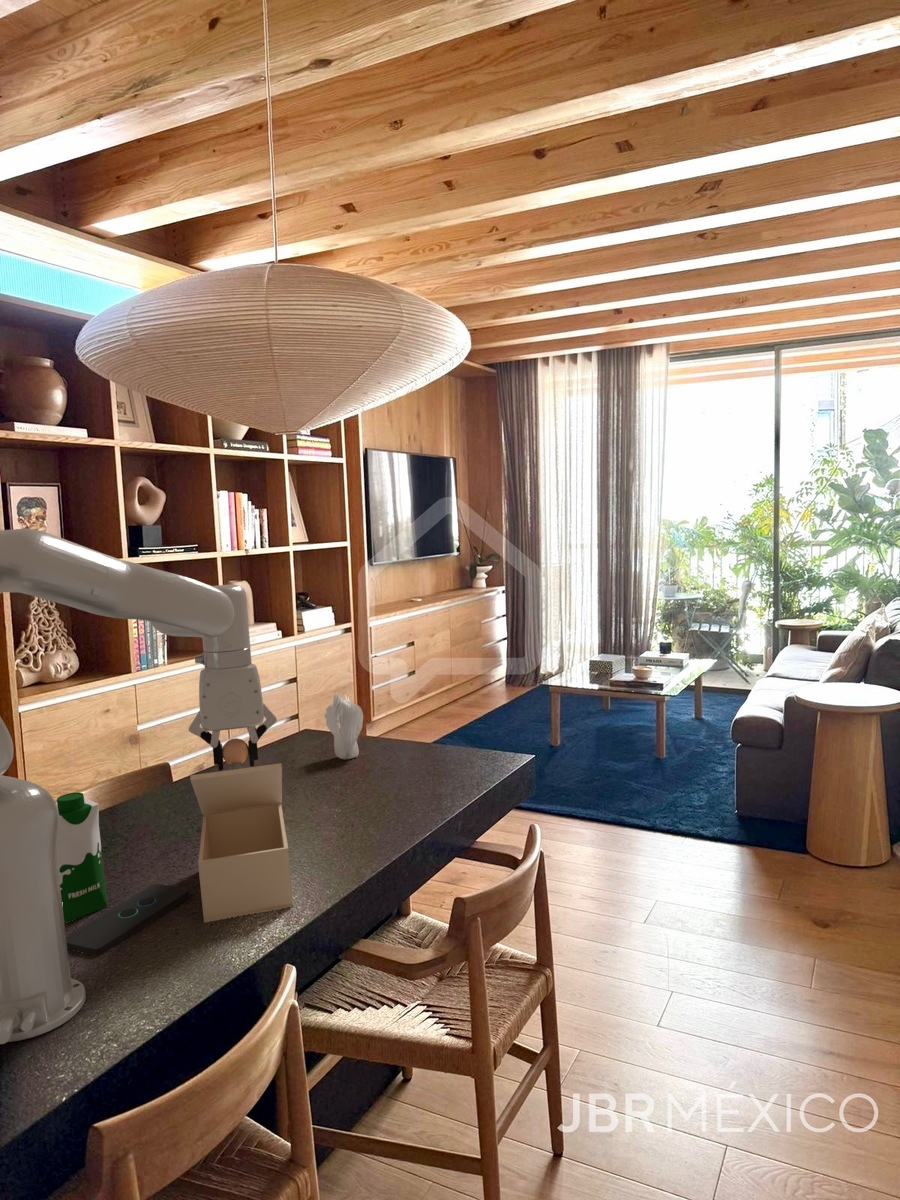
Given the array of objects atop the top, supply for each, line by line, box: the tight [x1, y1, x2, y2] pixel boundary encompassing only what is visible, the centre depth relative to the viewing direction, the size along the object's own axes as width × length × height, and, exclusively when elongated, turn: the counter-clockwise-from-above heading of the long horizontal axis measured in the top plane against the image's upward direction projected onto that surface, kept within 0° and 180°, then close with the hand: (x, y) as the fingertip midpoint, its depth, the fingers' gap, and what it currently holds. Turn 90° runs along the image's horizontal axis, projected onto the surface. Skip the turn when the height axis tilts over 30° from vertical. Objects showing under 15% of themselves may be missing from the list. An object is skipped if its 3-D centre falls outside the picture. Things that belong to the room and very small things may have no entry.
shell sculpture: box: [324, 692, 364, 760], centre depth 212 cm, size 8×8×18 cm
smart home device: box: [66, 883, 190, 957], centre depth 131 cm, size 8×2×20 cm
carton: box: [197, 803, 294, 923], centre depth 140 cm, size 22×14×10 cm, turn 15°
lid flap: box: [189, 738, 283, 815], centre depth 142 cm, size 22×14×7 cm
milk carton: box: [55, 792, 108, 923], centre depth 135 cm, size 9×9×20 cm
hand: (236, 765), depth 136 cm, fingers closed on lid flap, 4 cm apart
